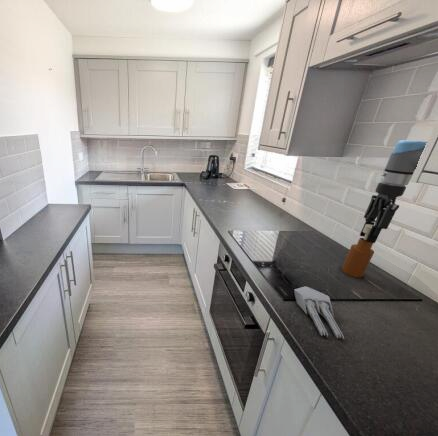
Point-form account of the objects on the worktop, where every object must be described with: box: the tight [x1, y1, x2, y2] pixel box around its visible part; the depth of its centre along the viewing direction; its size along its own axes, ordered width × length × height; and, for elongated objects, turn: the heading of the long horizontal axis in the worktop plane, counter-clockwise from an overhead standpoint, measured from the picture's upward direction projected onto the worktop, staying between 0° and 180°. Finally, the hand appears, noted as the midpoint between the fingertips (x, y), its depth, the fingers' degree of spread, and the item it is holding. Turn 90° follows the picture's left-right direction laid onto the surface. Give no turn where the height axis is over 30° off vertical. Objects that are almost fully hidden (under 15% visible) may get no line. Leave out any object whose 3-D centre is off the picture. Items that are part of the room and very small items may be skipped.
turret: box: [293, 285, 345, 340], centre depth 77 cm, size 10×20×5 cm, turn 170°
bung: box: [362, 224, 375, 240], centre depth 94 cm, size 5×5×6 cm
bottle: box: [341, 237, 375, 278], centre depth 98 cm, size 7×7×16 cm
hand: (367, 238), depth 95 cm, fingers closed on bung, 5 cm apart
